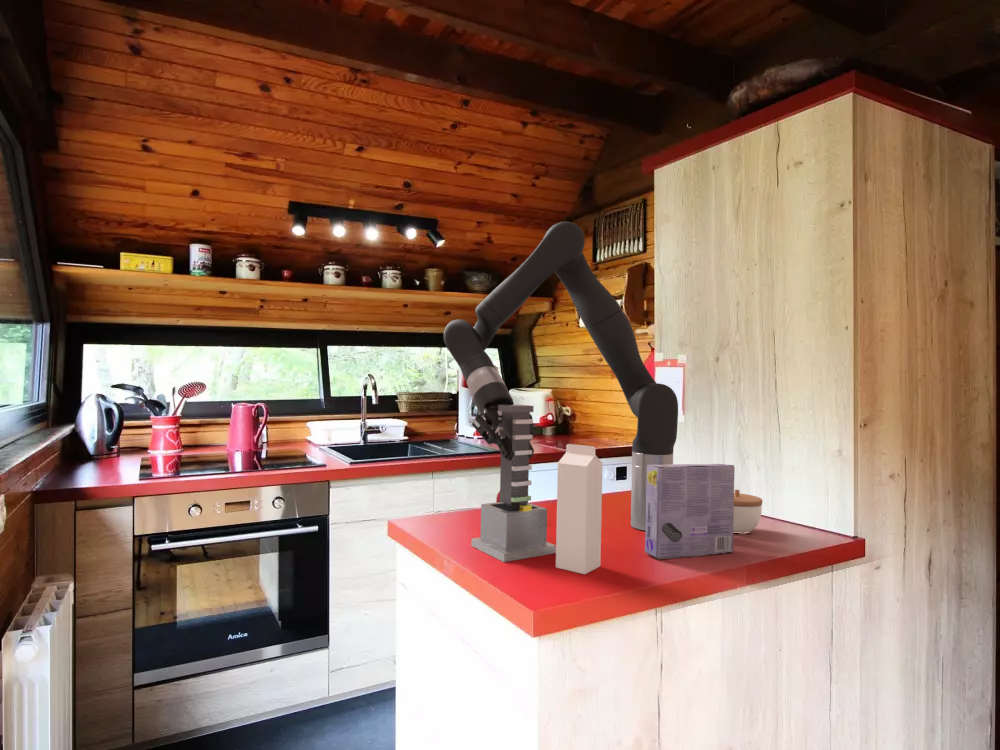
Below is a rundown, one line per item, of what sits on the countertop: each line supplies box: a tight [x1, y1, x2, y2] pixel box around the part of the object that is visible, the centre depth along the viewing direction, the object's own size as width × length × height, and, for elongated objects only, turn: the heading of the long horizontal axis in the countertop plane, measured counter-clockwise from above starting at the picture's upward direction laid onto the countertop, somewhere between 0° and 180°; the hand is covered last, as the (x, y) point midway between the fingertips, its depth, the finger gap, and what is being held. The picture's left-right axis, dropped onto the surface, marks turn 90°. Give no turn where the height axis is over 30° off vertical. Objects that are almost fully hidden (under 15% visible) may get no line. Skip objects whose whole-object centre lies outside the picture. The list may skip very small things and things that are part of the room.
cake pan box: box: [644, 463, 736, 560], centre depth 119 cm, size 19×5×18 cm, turn 110°
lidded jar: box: [733, 489, 763, 533], centre depth 138 cm, size 11×11×9 cm
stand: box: [470, 502, 556, 563], centre depth 119 cm, size 12×12×10 cm
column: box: [498, 404, 535, 505], centre depth 119 cm, size 5×6×19 cm
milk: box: [555, 443, 603, 575], centre depth 109 cm, size 6×6×22 cm
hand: (520, 456), depth 118 cm, fingers closed on column, 4 cm apart
